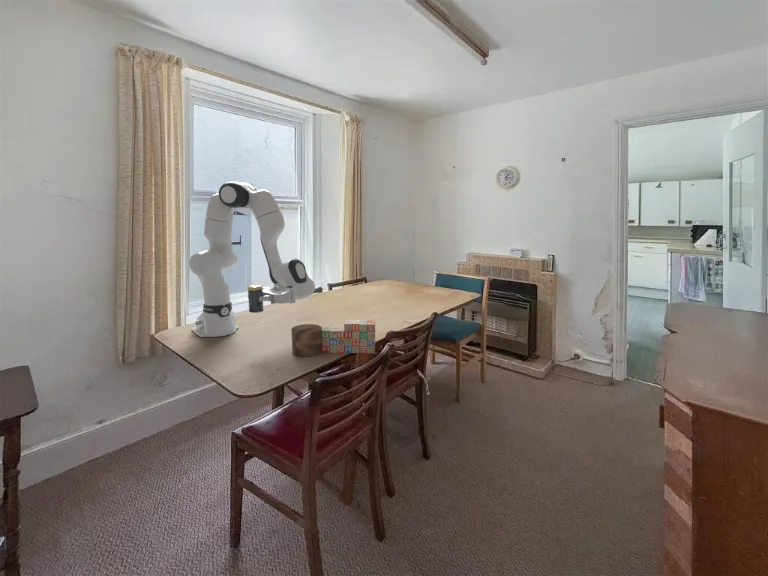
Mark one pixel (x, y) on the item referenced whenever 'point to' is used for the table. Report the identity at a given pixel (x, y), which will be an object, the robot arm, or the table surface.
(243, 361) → the table surface
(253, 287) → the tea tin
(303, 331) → the brown wooden cylinder
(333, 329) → the stack of blocks
